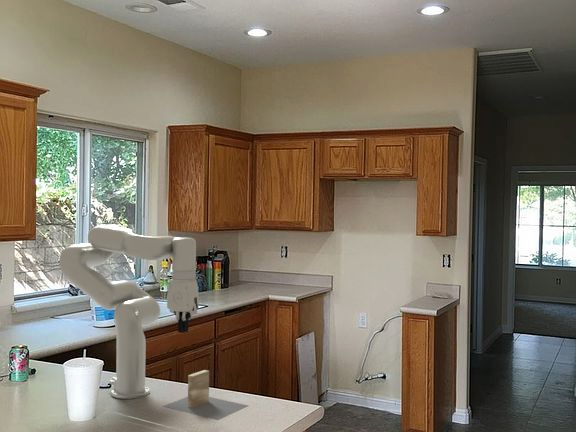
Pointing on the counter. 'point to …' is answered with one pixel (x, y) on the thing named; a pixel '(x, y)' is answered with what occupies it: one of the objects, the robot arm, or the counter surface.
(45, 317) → the counter surface
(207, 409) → the rubber mat
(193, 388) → the birch tile
